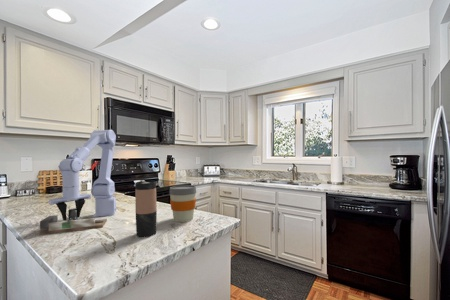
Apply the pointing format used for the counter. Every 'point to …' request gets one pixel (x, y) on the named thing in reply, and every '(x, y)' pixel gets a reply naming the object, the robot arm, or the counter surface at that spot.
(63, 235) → the counter surface
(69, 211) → the gauge slider
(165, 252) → the counter surface
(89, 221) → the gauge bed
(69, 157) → the robot arm
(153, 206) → the travel mug
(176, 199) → the reusable coffee cup
